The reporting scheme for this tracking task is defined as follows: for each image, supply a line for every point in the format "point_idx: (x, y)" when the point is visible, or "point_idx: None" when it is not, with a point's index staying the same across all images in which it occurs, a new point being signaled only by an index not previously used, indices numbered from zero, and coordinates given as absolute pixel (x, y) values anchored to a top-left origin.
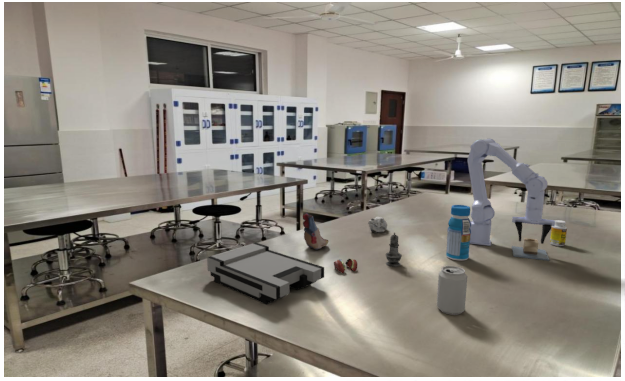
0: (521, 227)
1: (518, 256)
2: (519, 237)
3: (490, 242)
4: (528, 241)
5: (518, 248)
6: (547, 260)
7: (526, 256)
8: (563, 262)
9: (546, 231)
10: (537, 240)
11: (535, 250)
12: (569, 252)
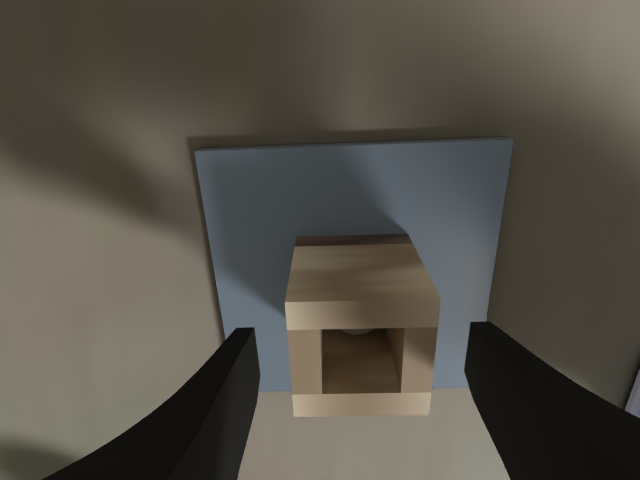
0: (631, 461)
1: (465, 139)
2: (518, 343)
3: (633, 409)
4: (400, 298)
5: None
6: (212, 148)
7: (395, 143)
8: (84, 158)
9: (143, 445)
10: (292, 376)
11: (312, 254)
12: (81, 418)
